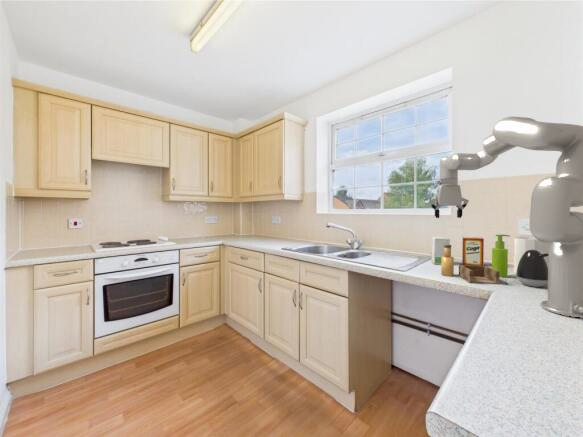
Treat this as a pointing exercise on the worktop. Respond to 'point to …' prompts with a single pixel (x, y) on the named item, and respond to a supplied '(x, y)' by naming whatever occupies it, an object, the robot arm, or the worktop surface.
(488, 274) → the open wooden box
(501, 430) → the worktop surface
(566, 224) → the robot arm
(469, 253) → the baking soda box
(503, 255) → the soap dispenser
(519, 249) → the container
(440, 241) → the skincare box
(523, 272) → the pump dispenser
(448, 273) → the amber bottle
